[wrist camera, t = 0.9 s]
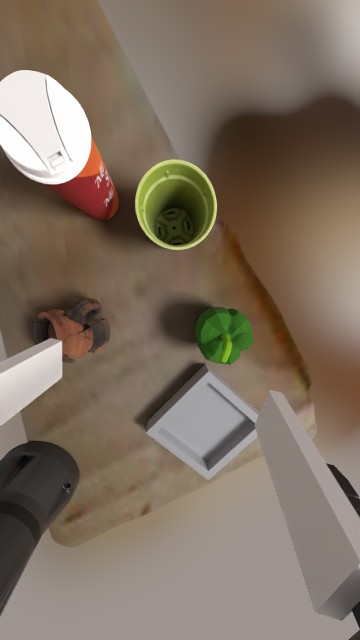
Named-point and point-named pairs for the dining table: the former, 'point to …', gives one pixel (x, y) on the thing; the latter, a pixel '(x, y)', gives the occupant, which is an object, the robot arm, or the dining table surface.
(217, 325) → the bell pepper
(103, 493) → the dining table surface
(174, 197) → the plant pot
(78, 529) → the dining table surface
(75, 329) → the pottery mug
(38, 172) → the paper cup
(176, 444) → the gray square tray
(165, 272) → the dining table surface
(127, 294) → the dining table surface
